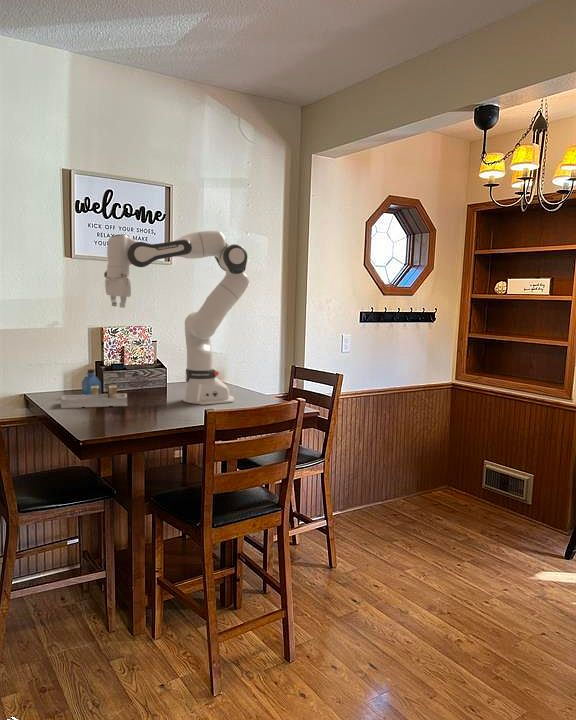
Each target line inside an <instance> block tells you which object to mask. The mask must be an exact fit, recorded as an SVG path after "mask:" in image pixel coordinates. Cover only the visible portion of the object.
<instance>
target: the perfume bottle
mask: <svg viewBox="0 0 576 720" xmlns="http://www.w3.org/2000/svg"><path fill="white" fill-rule="evenodd" d="M95 370H96V369H95V368H90V369H87V373H86V375H87V376H84V378H83V380H82V381H81V395H90V394H91V386H99V387H100V394H102V382H101V380H100V379H99V377H98V376H95V375H96V371H95Z"/></svg>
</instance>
